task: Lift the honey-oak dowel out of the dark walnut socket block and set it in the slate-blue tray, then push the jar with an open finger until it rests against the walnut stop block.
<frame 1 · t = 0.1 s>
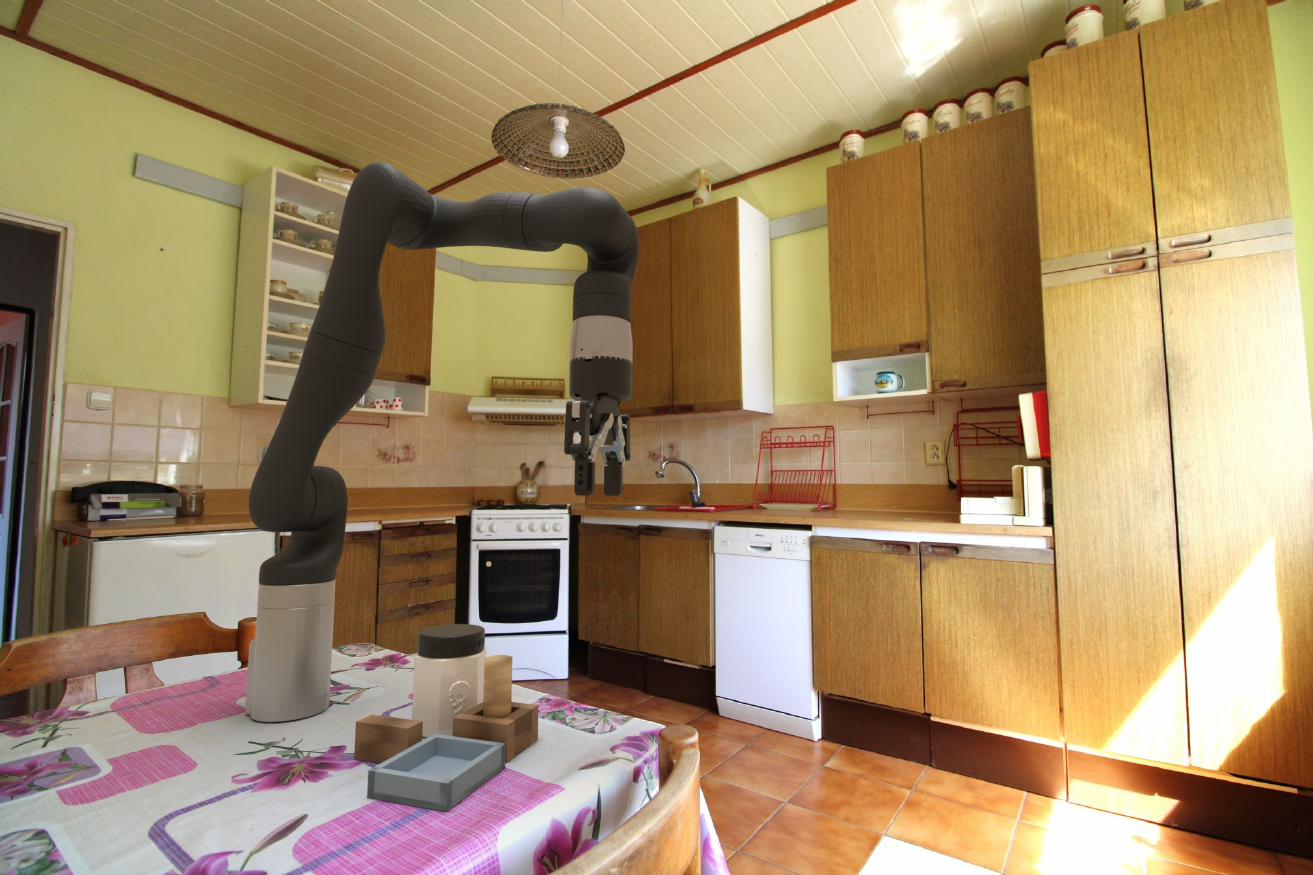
hand: (599, 495, 74), 29 cm above the table, fingers open, 8 cm apart
stop block: (387, 758, 70), on the table
dowel: (497, 702, 74), in the socket block
jar: (448, 729, 79), on the table
tray: (439, 781, 64), on the table
socket block: (496, 746, 73), on the table
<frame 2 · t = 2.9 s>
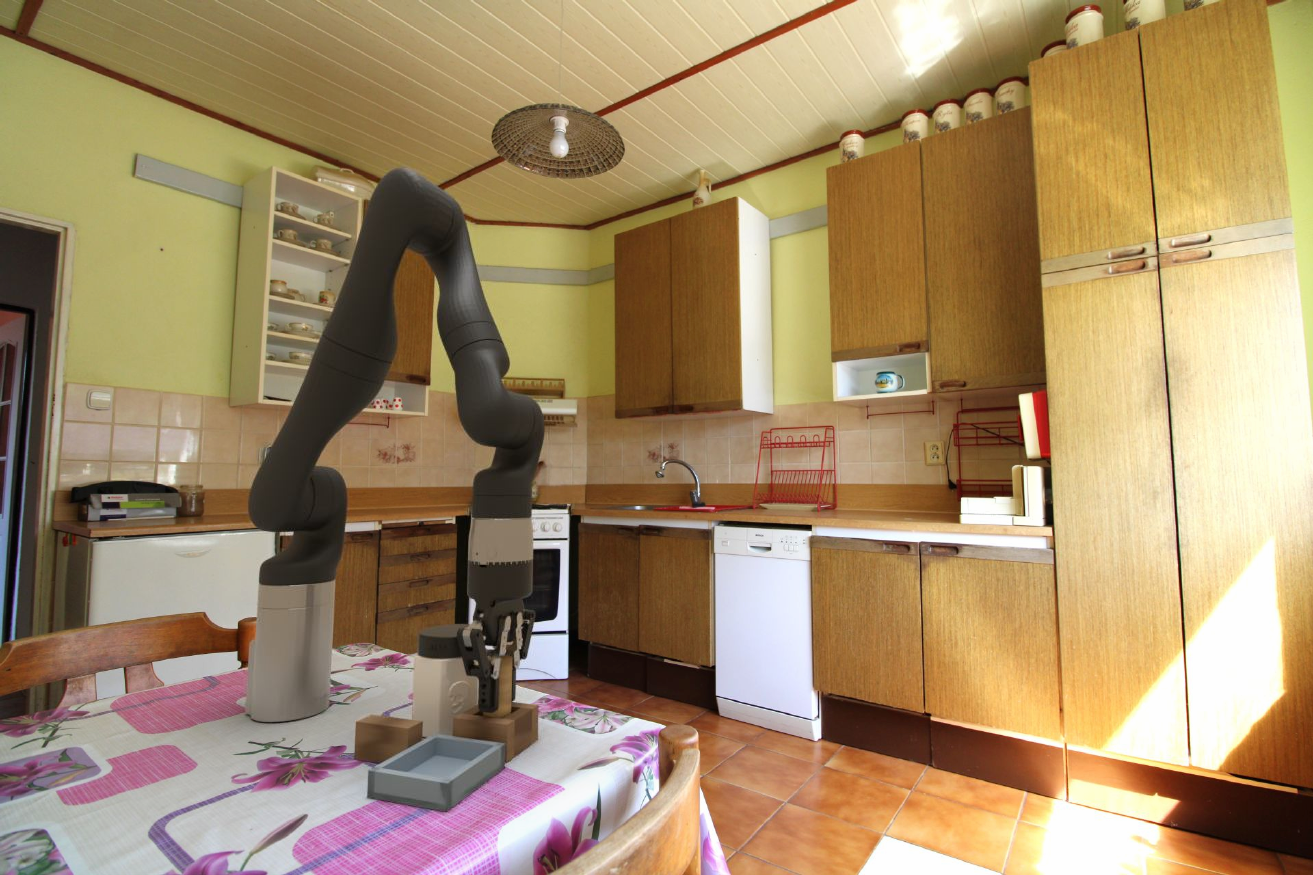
hand: (497, 705, 74), 5 cm above the table, fingers closed on dowel, 3 cm apart
dowel: (497, 702, 74), in the socket block, touching gripper
everything else where it was.
when the fingers open (7 cm above the table, at t = 7.4 s): dowel drops 1 cm, resting on tray.
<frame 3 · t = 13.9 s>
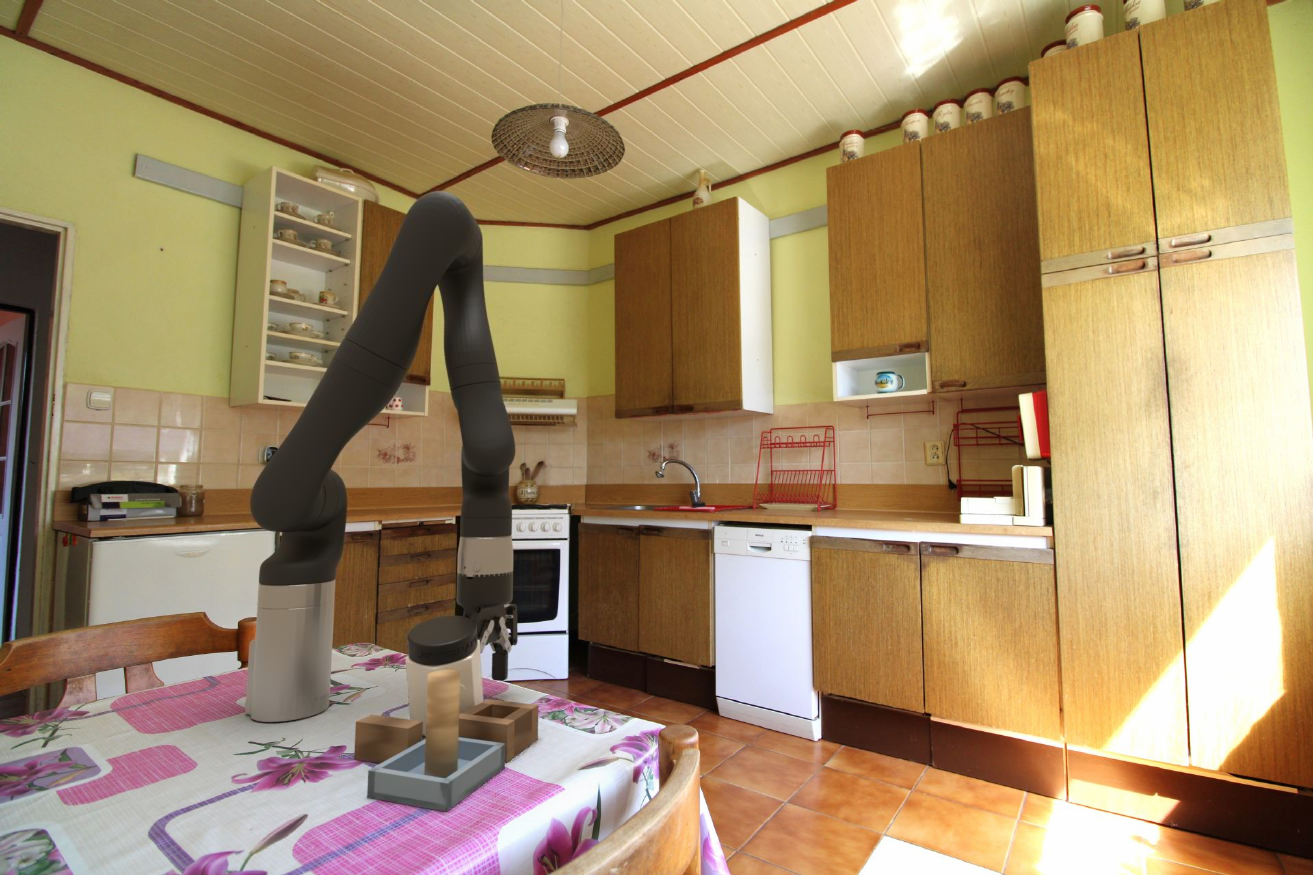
hand: (482, 688, 87), 3 cm above the table, fingers open, 8 cm apart
dowel: (442, 723, 65), in the tray, point 6 cm above the table
jar: (448, 720, 79), point 1 cm above the table, touching gripper, hand
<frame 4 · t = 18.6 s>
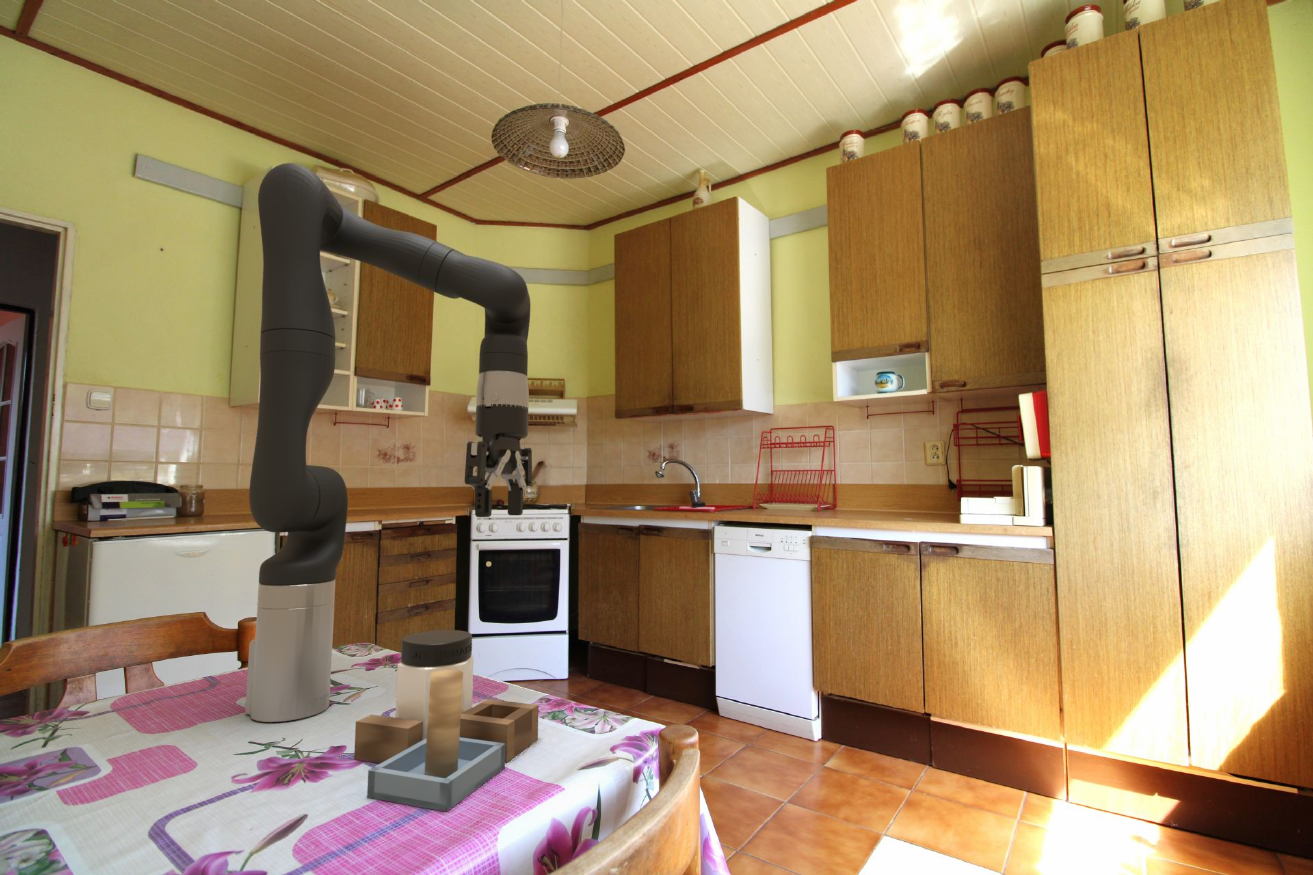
hand: (499, 516, 92), 26 cm above the table, fingers open, 8 cm apart
jar: (433, 741, 75), on the table
everything else where it was.
at the end: jar inside the target area (1.4 cm from its centre), on the table; jar tilted 0°; dowel inside the target area on the tray (0.1 cm from its centre), point 5.6 cm above the tray's base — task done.
